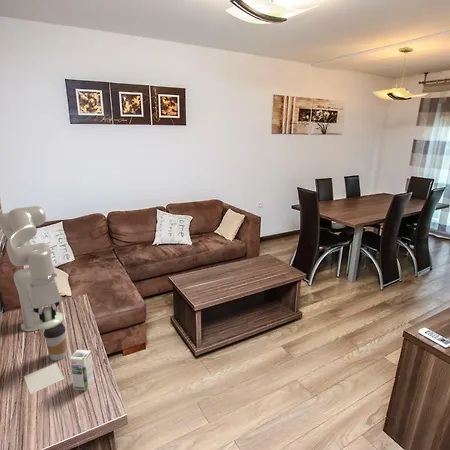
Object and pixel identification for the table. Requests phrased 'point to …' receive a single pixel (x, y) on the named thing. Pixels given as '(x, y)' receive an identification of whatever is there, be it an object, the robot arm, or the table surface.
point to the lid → (48, 319)
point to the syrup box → (82, 369)
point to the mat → (43, 378)
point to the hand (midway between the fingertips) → (48, 318)
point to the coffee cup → (56, 342)
